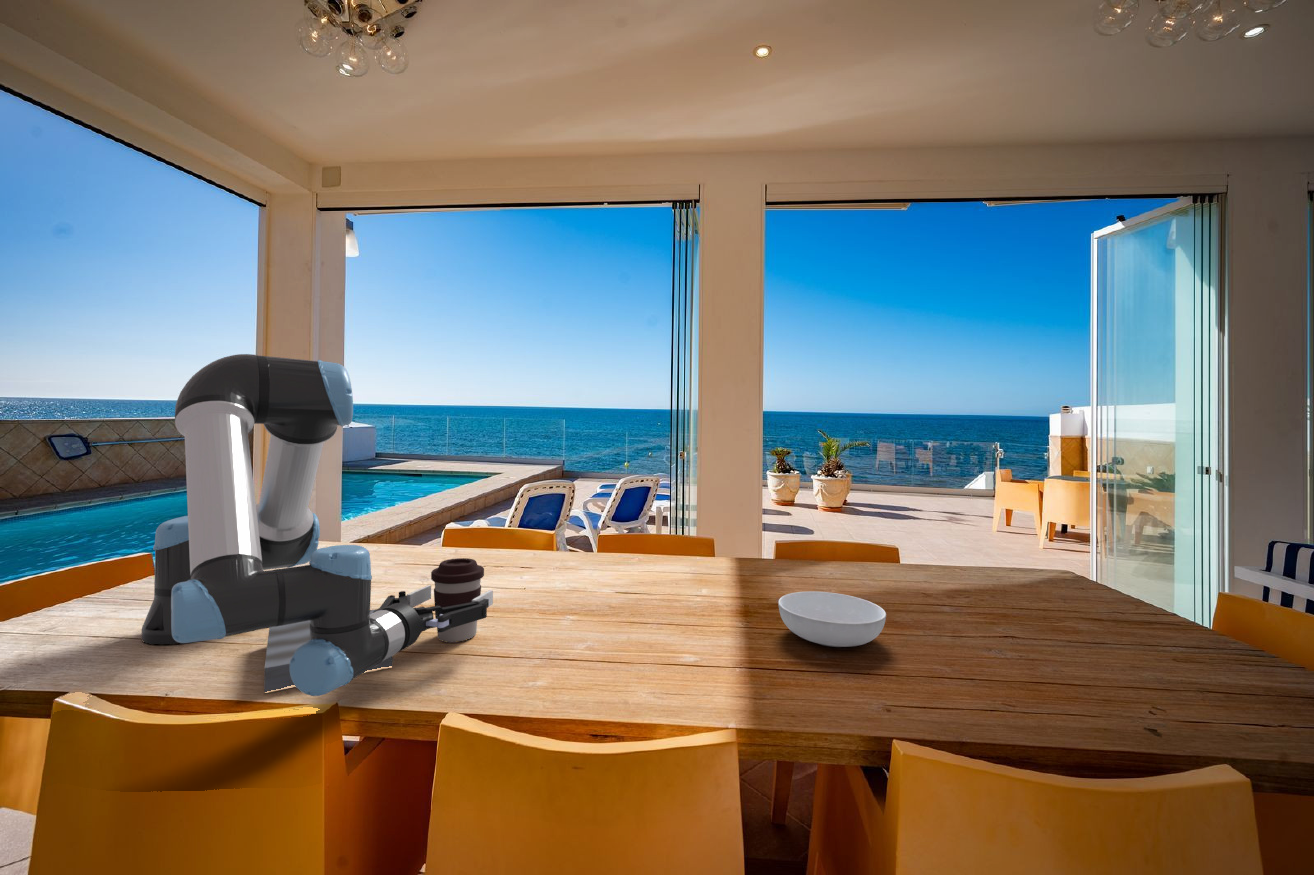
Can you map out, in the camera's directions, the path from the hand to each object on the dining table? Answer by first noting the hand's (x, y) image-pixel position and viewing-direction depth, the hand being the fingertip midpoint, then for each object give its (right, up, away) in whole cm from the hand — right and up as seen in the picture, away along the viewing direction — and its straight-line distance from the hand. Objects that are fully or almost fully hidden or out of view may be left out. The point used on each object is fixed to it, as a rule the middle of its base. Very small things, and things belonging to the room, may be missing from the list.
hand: (460, 594), depth 109 cm
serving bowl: (+75, -10, +2) cm, 76 cm away
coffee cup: (-1, -9, 0) cm, 9 cm away
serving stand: (-20, -8, -11) cm, 24 cm away
